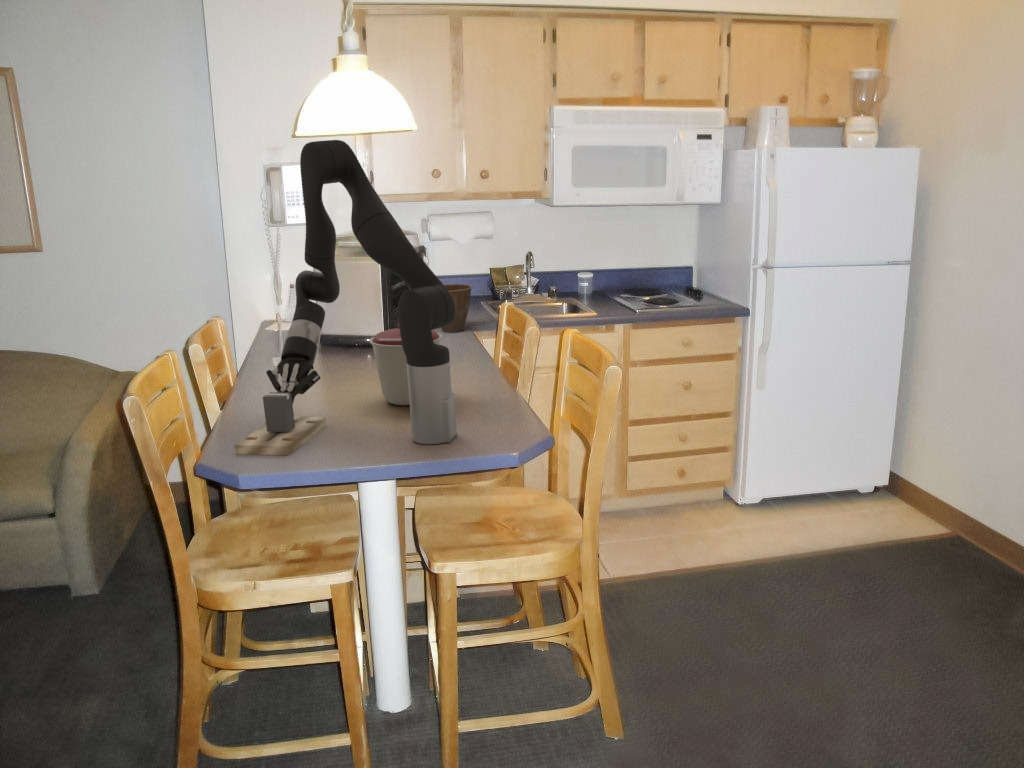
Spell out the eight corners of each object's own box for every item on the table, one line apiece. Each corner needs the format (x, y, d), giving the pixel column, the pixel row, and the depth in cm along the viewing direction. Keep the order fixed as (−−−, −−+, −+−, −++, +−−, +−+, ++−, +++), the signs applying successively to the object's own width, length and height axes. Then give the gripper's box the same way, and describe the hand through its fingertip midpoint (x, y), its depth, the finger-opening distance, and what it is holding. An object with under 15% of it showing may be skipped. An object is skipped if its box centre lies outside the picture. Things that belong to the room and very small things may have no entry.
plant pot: (480, 331, 282) (478, 287, 278) (443, 336, 275) (440, 291, 271) (462, 325, 294) (459, 283, 290) (426, 330, 287) (423, 287, 283)
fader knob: (295, 426, 174) (291, 392, 172) (288, 432, 171) (284, 396, 169) (274, 426, 175) (269, 391, 173) (266, 431, 172) (262, 396, 170)
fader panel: (326, 425, 183) (325, 416, 182) (288, 455, 164) (287, 445, 163) (279, 423, 185) (277, 415, 184) (235, 453, 166) (234, 444, 165)
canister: (459, 396, 202) (455, 316, 196) (413, 414, 188) (407, 329, 182) (407, 387, 212) (401, 311, 206) (360, 404, 198) (352, 323, 192)
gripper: (269, 334, 181) (249, 400, 172) (322, 334, 178) (305, 401, 170) (282, 351, 187) (264, 416, 179) (334, 352, 185) (317, 417, 176)
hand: (284, 408), depth 174 cm, fingers closed
